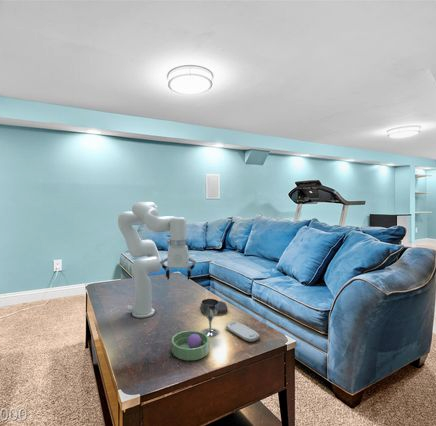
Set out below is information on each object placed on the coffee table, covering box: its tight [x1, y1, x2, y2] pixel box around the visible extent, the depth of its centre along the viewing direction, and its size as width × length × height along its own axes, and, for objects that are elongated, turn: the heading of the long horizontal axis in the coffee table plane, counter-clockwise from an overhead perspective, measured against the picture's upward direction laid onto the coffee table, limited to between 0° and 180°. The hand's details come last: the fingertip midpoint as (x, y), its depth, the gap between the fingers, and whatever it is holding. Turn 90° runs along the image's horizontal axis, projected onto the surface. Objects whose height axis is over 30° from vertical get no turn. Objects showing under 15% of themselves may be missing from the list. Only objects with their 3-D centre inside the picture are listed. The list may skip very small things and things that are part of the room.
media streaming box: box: [200, 300, 228, 315], centre depth 157 cm, size 15×15×3 cm
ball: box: [187, 334, 201, 348], centre depth 115 cm, size 6×6×6 cm
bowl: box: [171, 329, 210, 361], centre depth 114 cm, size 16×16×5 cm
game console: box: [225, 321, 260, 343], centre depth 128 cm, size 18×2×8 cm
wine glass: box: [201, 298, 219, 337], centre depth 129 cm, size 8×8×15 cm
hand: (178, 278), depth 129 cm, fingers open, 9 cm apart
